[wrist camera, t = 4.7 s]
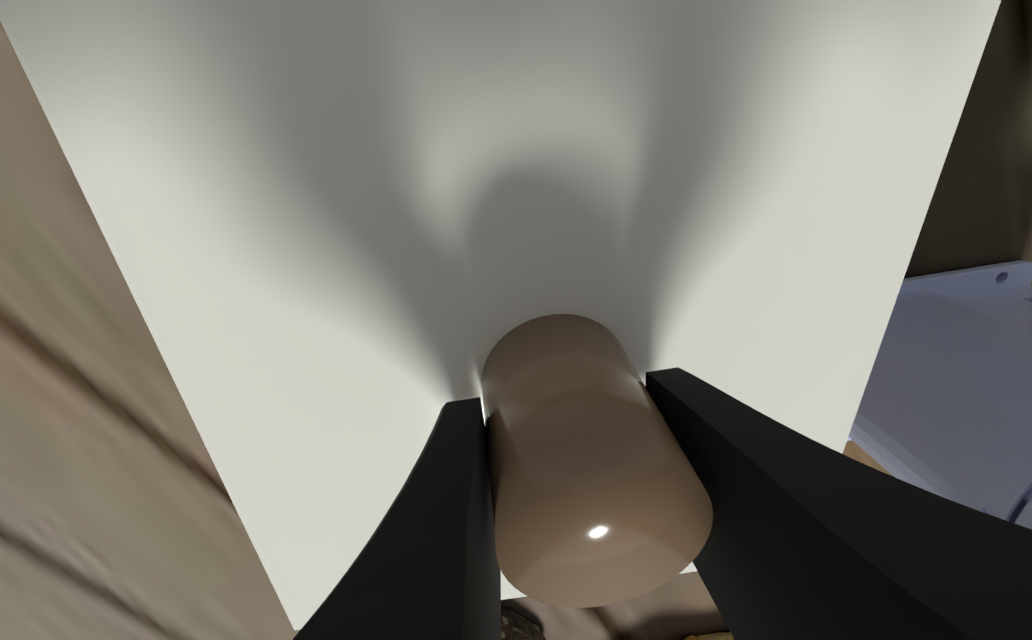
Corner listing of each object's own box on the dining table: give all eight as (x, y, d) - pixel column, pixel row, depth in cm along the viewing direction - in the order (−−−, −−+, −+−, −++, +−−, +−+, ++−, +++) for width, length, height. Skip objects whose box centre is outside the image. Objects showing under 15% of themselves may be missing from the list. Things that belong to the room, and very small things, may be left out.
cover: (851, -37, 10) (1535, -196, 4) (741, 462, 17) (917, 711, 11) (140, 3, 9) (-594, -120, 3) (325, 517, 16) (239, 830, 10)
